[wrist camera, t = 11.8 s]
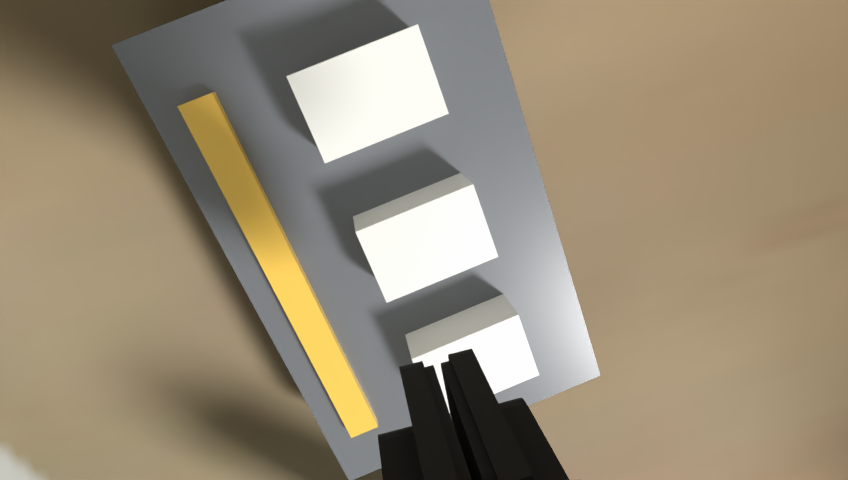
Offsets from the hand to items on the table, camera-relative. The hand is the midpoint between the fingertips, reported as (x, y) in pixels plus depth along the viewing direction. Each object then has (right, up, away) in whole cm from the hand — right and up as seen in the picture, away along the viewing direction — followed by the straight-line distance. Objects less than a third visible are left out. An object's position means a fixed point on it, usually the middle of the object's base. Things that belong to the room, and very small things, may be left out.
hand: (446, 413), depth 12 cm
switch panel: (-2, +5, +9) cm, 11 cm away
